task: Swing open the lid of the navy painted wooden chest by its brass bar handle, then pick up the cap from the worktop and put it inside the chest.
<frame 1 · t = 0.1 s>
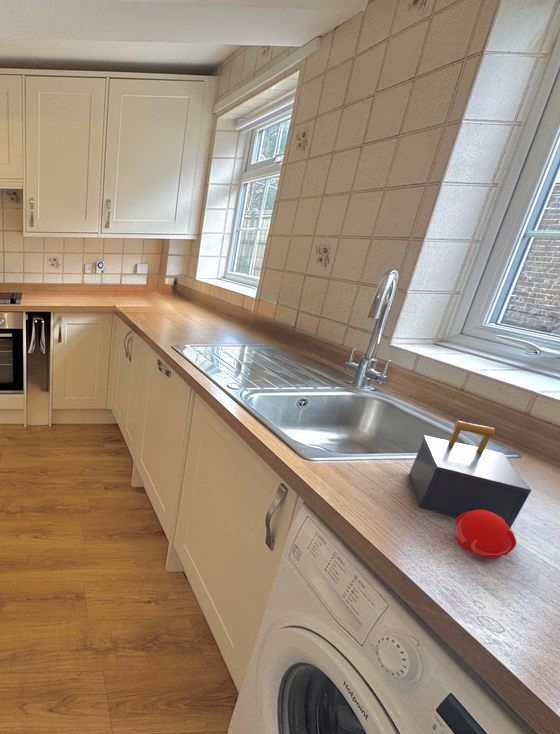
lid: (476, 449, 72), point 11 cm above the worktop, hinge at 0.0°
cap: (477, 548, 64), on the worktop
chest: (453, 500, 76), on the worktop
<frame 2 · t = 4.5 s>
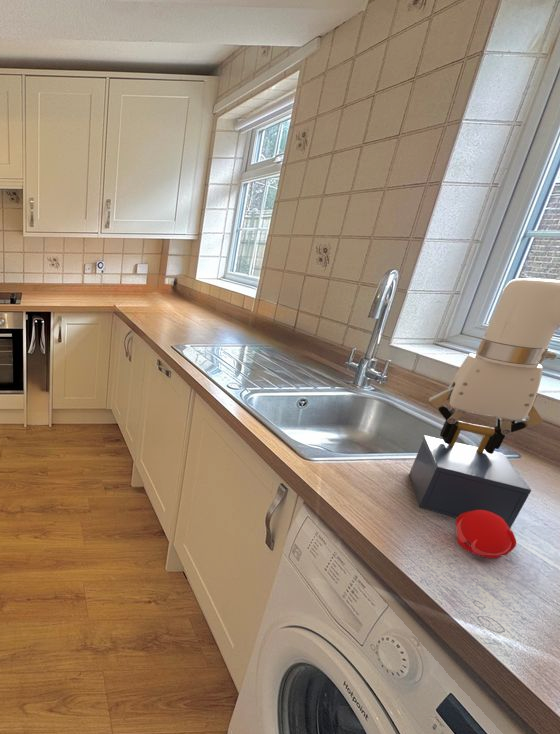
hand: (466, 444, 77), 9 cm above the worktop, tool pointing down, fingers closed on lid, 5 cm apart
lid: (476, 449, 72), point 11 cm above the worktop, hinge at 0.0°, touching gripper
everything else where it was.
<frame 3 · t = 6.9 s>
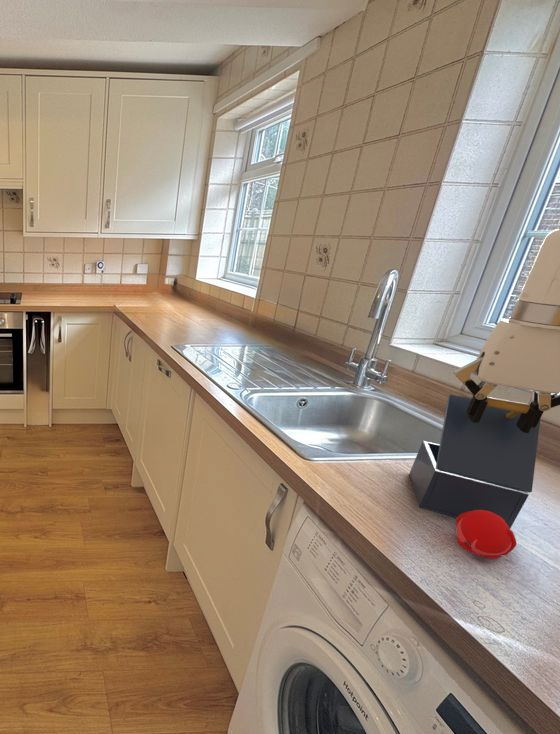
hand: (497, 423, 67), 17 cm above the worktop, tool pointing down, fingers closed on lid, 5 cm apart
lid: (494, 436, 67), point 15 cm above the worktop, hinge at 49.6°, touching gripper
everything else where it was.
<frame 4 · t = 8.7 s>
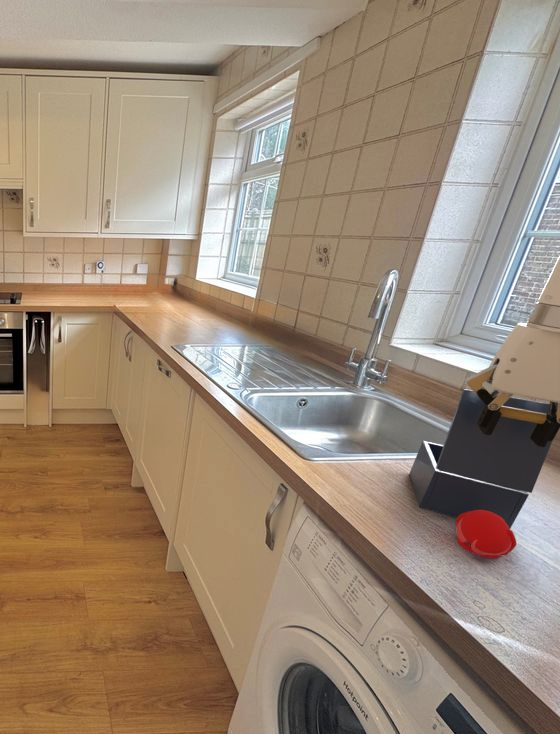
hand: (510, 436, 62), 17 cm above the worktop, tool pointing down, fingers closed on lid, 5 cm apart
lid: (502, 442, 64), point 16 cm above the worktop, hinge at 77.3°, touching gripper
everything else where it was.
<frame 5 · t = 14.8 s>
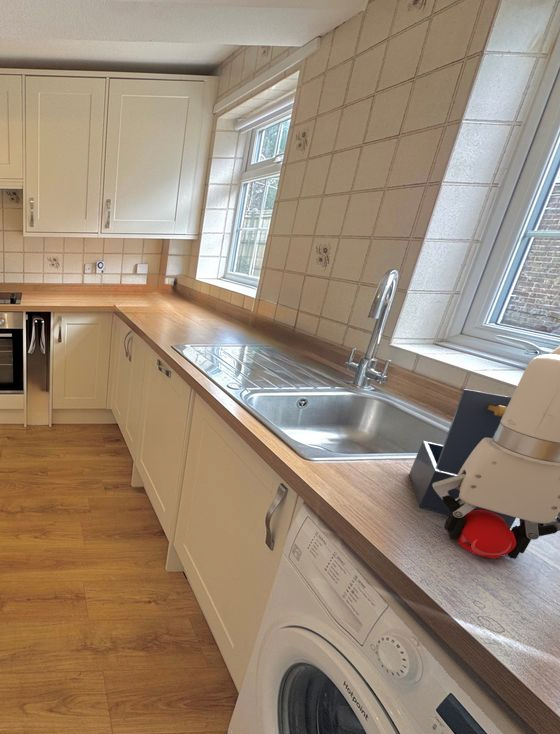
hand: (479, 542, 64), 1 cm above the worktop, tool pointing down, fingers closed on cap, 5 cm apart
lid: (502, 442, 64), point 16 cm above the worktop, hinge at 77.4°
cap: (477, 548, 64), on the worktop, touching gripper
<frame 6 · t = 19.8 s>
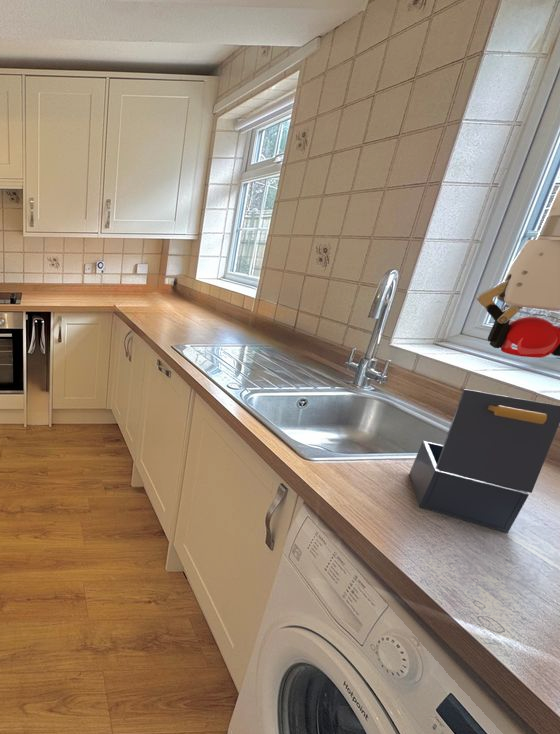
hand: (523, 349, 66), 29 cm above the worktop, tool pointing down, fingers closed on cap, 5 cm apart
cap: (520, 356, 66), point 28 cm above the worktop, touching gripper
everything else where it was.
when the fingers open (7 cm above the worktop, at t = 25.1 s): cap drops 6 cm, resting on chest.
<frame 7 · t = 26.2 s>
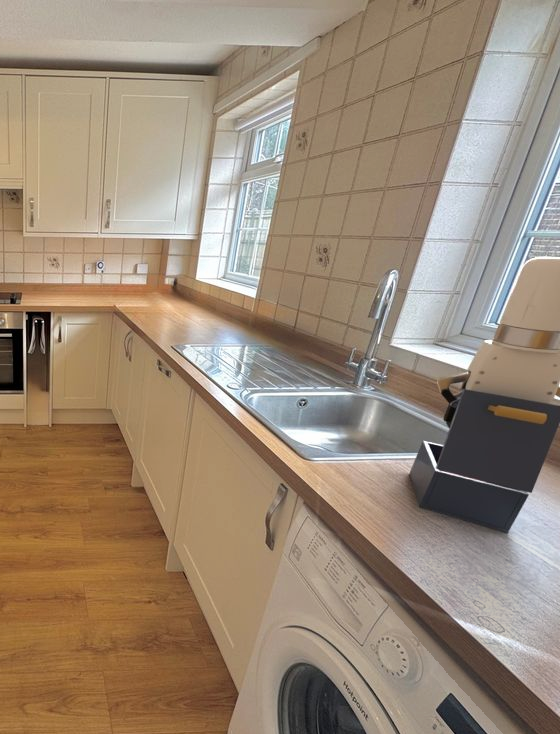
hand: (486, 433, 71), 14 cm above the worktop, tool pointing down, fingers open, 9 cm apart
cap: (455, 496, 76), point 1 cm above the worktop, touching chest
everything else where it was.
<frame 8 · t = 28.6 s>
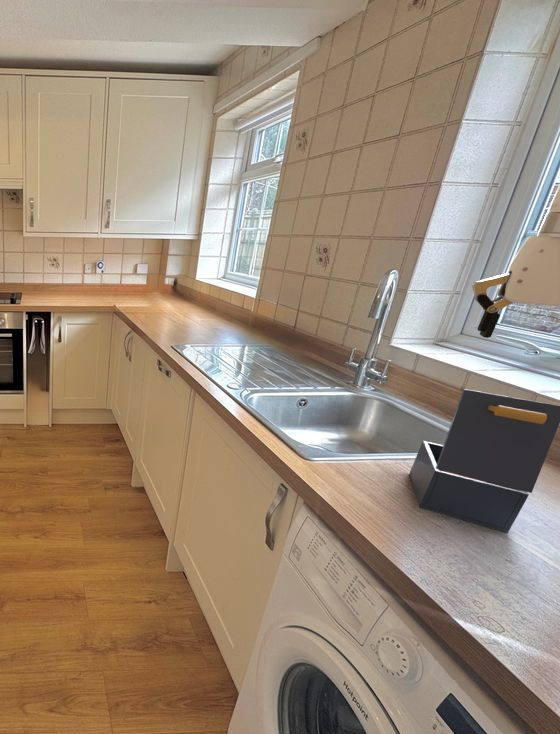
hand: (525, 341, 66), 30 cm above the worktop, tool pointing down, fingers open, 9 cm apart
nothing on the worktop moved.
at the end: lid at +77° (first picture: +0°); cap inside the target area in the chest (0.7 cm from its centre), point 0.5 cm above the chest's base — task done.
